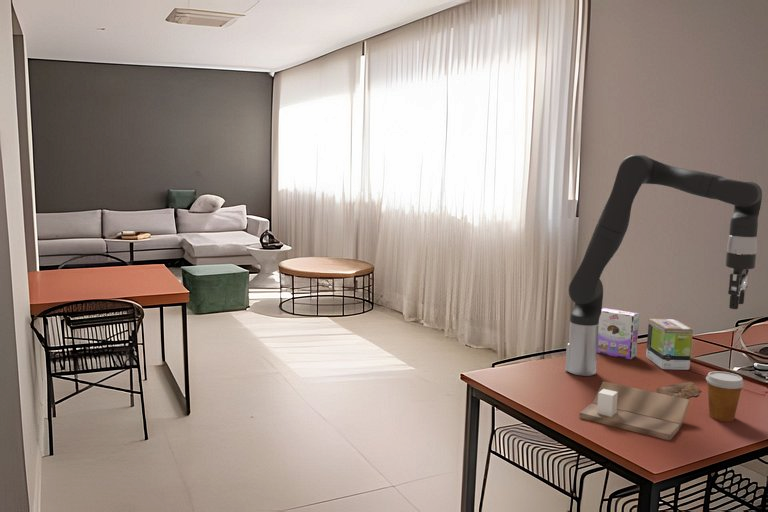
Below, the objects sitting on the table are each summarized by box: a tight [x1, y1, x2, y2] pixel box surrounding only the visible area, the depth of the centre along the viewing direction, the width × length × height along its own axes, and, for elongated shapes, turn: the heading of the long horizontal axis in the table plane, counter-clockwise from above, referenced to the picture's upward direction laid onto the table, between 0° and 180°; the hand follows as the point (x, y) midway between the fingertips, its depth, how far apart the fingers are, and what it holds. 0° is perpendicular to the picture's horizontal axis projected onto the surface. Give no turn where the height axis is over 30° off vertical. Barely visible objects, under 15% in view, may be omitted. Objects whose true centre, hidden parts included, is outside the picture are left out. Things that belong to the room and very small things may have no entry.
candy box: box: [597, 307, 640, 360], centre depth 246 cm, size 14×6×16 cm, turn 47°
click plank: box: [592, 381, 690, 429], centre depth 189 cm, size 24×9×2 cm
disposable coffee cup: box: [705, 370, 745, 422], centre depth 187 cm, size 10×10×12 cm
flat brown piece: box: [656, 381, 702, 400], centre depth 207 cm, size 26×11×1 cm, turn 133°
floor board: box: [579, 403, 681, 441], centre depth 182 cm, size 24×10×2 cm, turn 52°
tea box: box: [645, 318, 694, 371], centre depth 236 cm, size 15×10×15 cm, turn 179°
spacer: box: [597, 389, 618, 417], centre depth 185 cm, size 4×4×6 cm
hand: (736, 306), depth 195 cm, fingers open, 8 cm apart
